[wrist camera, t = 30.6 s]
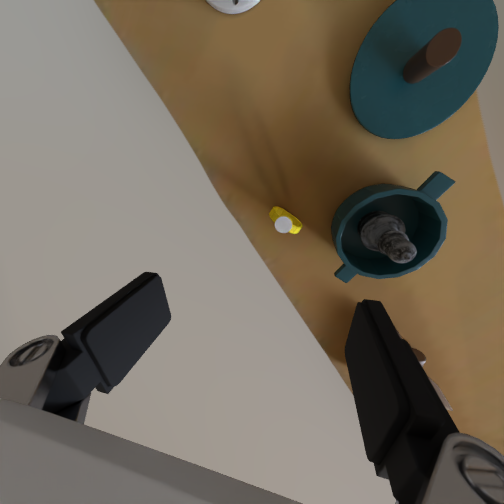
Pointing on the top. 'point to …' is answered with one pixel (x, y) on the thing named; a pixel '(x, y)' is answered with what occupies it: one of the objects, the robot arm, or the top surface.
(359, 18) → the top surface
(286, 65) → the top surface
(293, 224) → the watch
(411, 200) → the pan
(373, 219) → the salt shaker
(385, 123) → the pan lid
